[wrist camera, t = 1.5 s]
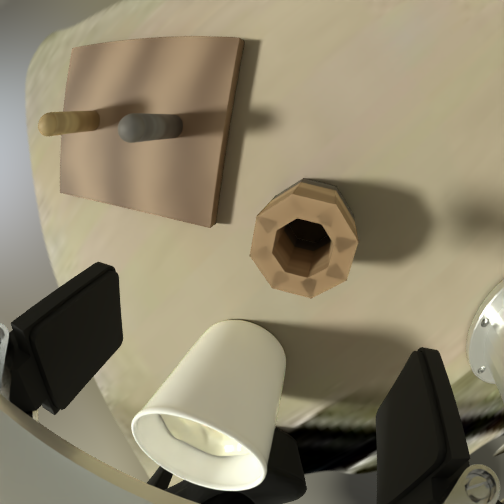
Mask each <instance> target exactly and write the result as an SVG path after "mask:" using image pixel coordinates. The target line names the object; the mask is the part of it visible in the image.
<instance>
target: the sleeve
mask: <svg viewBox="0 0 504 504" xmlns="http://www.w3.org/2000/svg"><path fill="white" fill-rule="evenodd" d="M297 218H298V219H302V220H306V221H310V222H315V223H319V224H322V226H323V227H324V229H325V231H326V232H327V234H328V236H326V237H324V238H323V239H321V240H319V241H317V242H311V241H307V240H303V239H299V238H297V236H296V235H295V233H294V232H293V230H292V229H291V227H290V226H289V224H288V223H290V222H292V221H293V220H295V219H297ZM358 243H359V242H358V236H357V231H356V225H355V220H354V215H353V213H352V212H351V210H350V208H349V207H348V205H347V203H346V202H345V200H344V198H343V197H342V195H341V193H340V192H339V190H338V189H337V186H333V185H329V184H325V183H321V182H317V181H313V180H308V179H304V178H303V179H302V180H300V181H299V182H297V183H295V184H294V185H292V186H291V187H289V188H287V189H286V190H284V191H283V192H281V193H280V194H278V195H276V196H275V197H274V198H273V199H272V200H271V201H270V202H269V203H268V205H267V206H266V207H265V208H264V209H263V210H262V211H261V212H260V213H259V214H258V215H257V217H256V223H255V228H254V234H253V240H252V246H251V251H250V257H251V258H252V260H253V261H254V262H255V264H256V265H257V267H258V268H259V270H260V271H261V273H262V274H263V275H264V277H265V278H266V280H267V281H268V283H269V284H270V285H271V287H272V288H274V289H278V290H282V291H285V292H289V293H293V294H297V295H301V296H305V297H308V298H313V297H315V296H317V295H319V294H321V293H323V292H325V291H327V290H329V289H331V288H333V287H335V286H337V285H338V284H340V283H342V282H344V281H346V280H347V277H348V274H349V271H350V268H351V265H352V261H353V258H354V255H355V251H356V248H357V245H358Z"/></svg>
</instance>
